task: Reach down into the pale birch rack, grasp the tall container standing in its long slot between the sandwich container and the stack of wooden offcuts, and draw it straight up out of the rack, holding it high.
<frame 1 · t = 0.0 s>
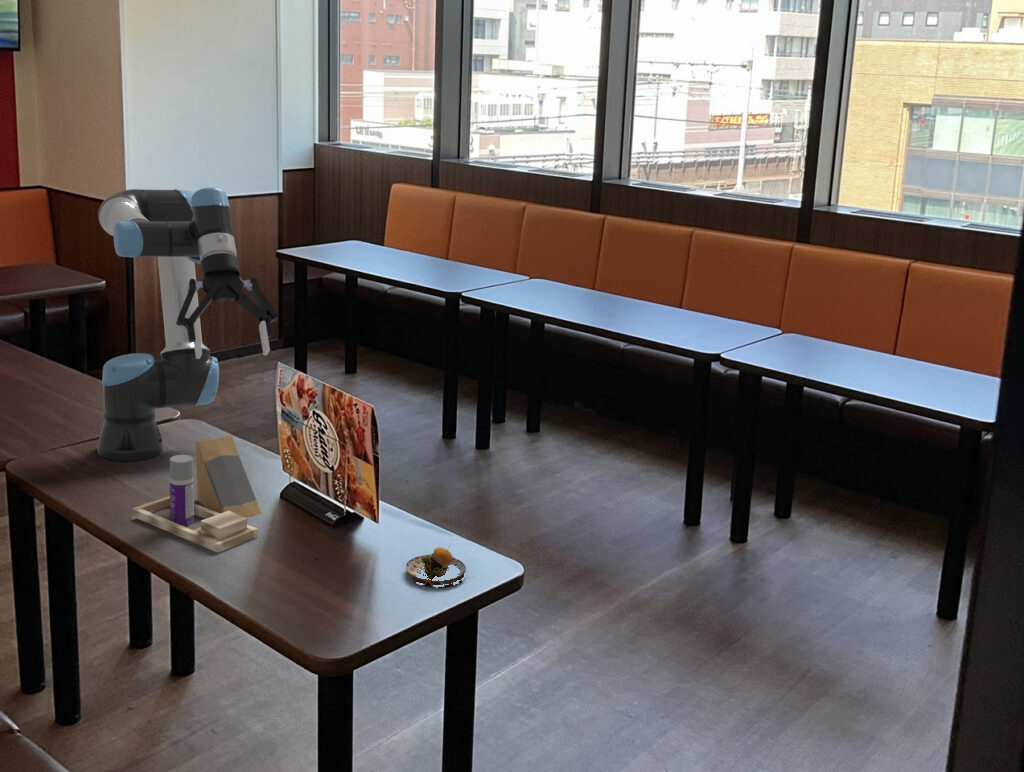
hand: (233, 354, 218), 36 cm above the table, tool tilted 35°, fingers open, 13 cm apart
offcut top: (224, 528, 215), point 3 cm above the table, touching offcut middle
sandwich container: (230, 515, 231), on the table
container: (182, 527, 222), on the table
rack: (182, 526, 222), on the table
plate of food: (435, 576, 210), on the table
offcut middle: (223, 537, 216), point 1 cm above the table, touching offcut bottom, offcut top
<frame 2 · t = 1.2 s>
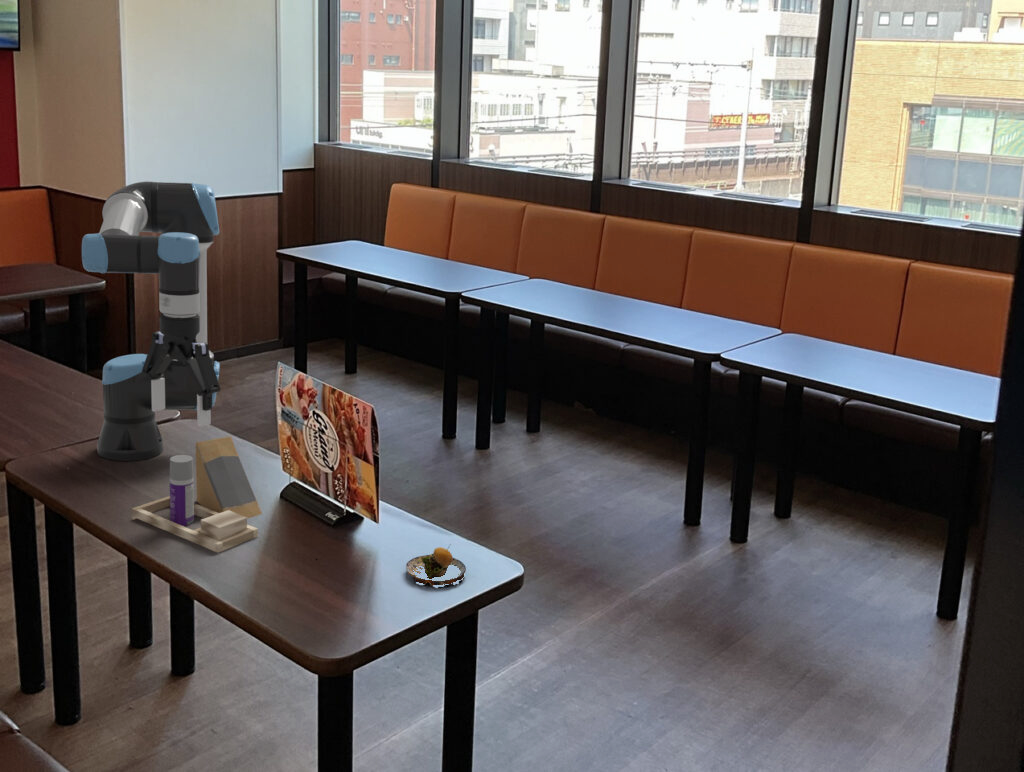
hand: (180, 417, 216), 24 cm above the table, tool pointing down, fingers open, 13 cm apart
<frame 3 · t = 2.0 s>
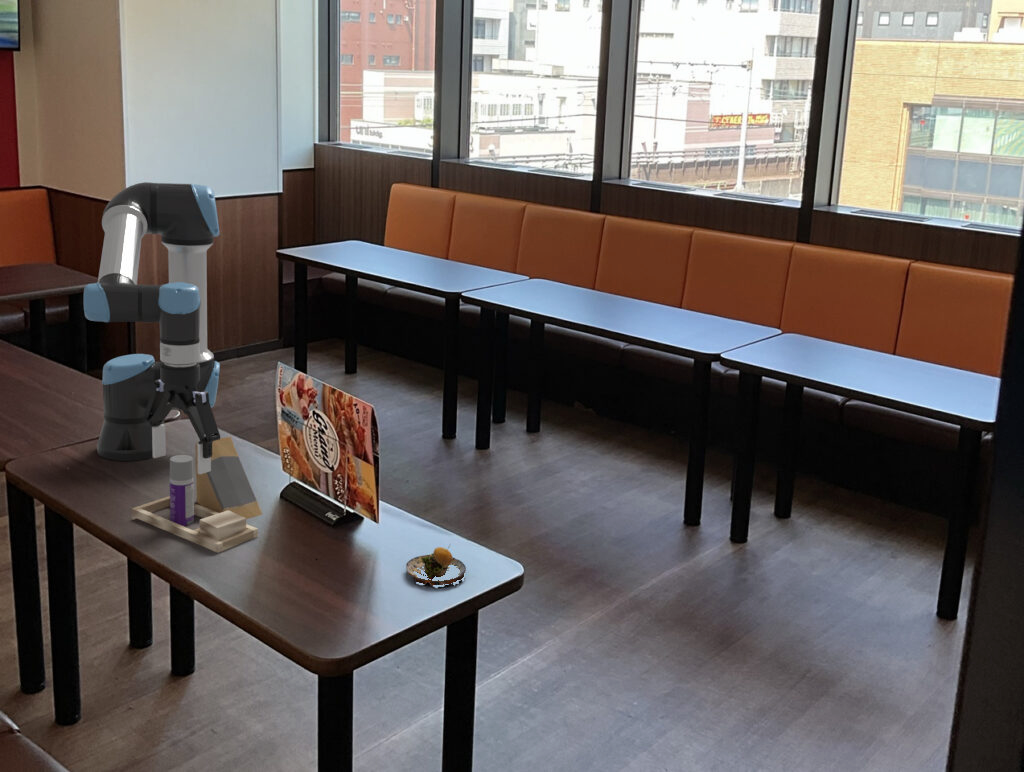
hand: (181, 464, 218), 14 cm above the table, tool pointing down, fingers open, 13 cm apart
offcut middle: (222, 537, 215), point 2 cm above the table, touching offcut top
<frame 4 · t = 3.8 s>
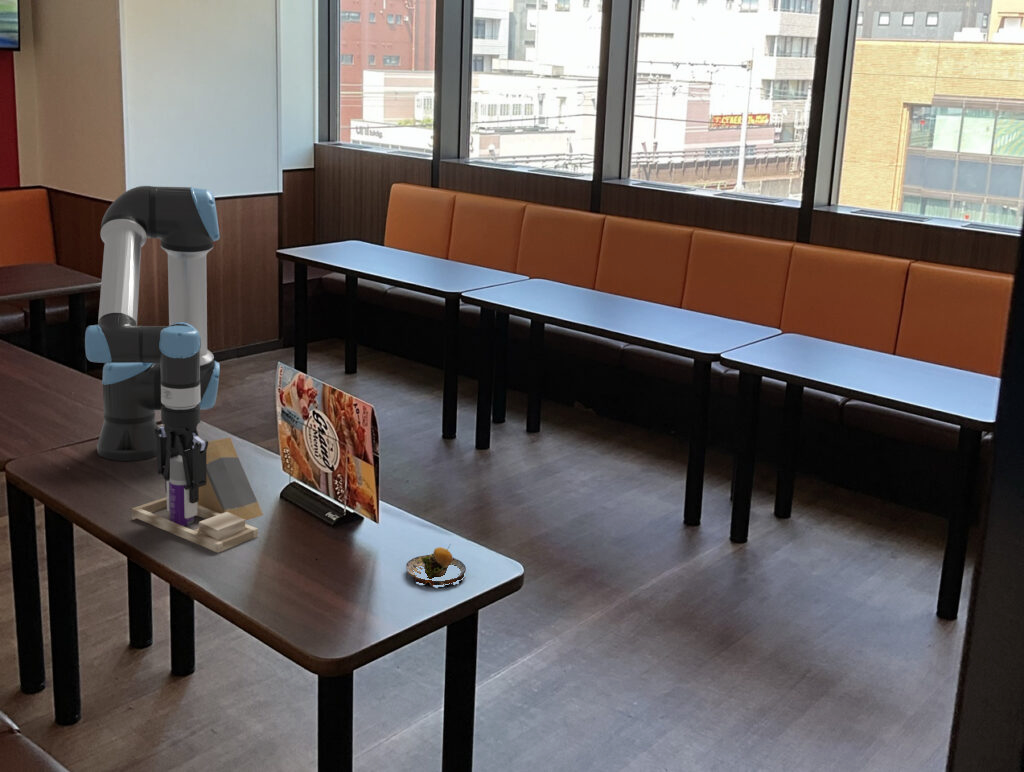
hand: (182, 512, 221), 3 cm above the table, tool pointing down, fingers closed on container, 5 cm apart
container: (182, 527, 222), on the table, touching gripper
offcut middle: (222, 539, 215), point 1 cm above the table, touching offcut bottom, offcut top
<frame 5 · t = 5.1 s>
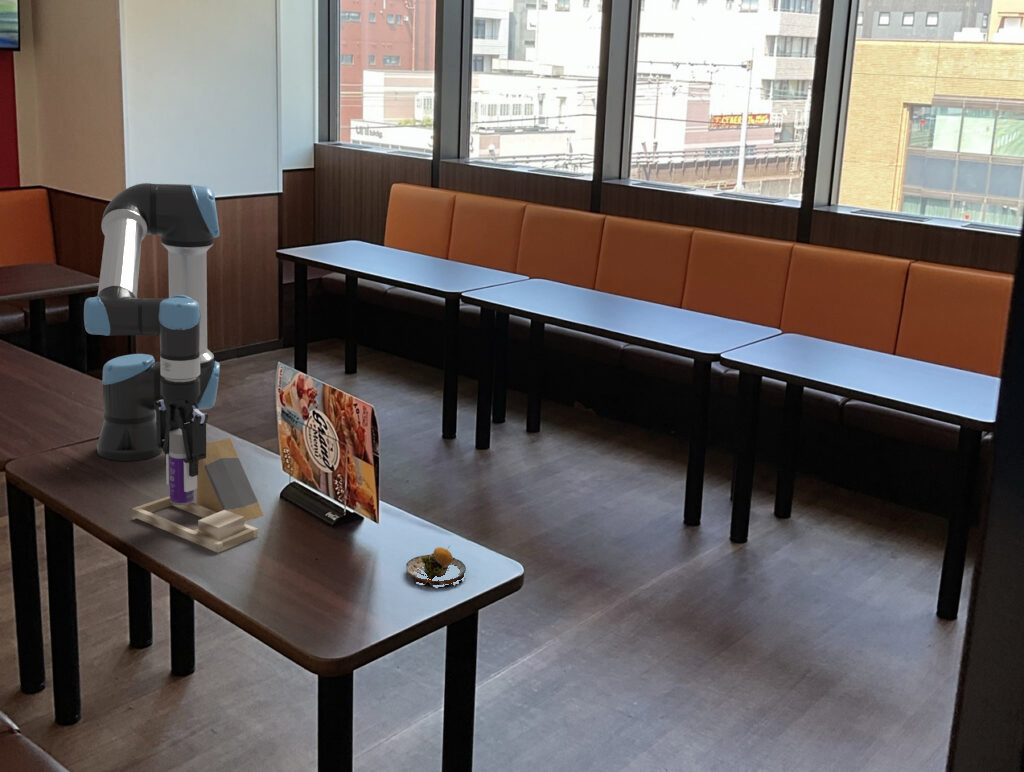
hand: (181, 486, 220), 9 cm above the table, tool pointing down, fingers closed on container, 5 cm apart
container: (182, 501, 221), point 5 cm above the table, touching gripper
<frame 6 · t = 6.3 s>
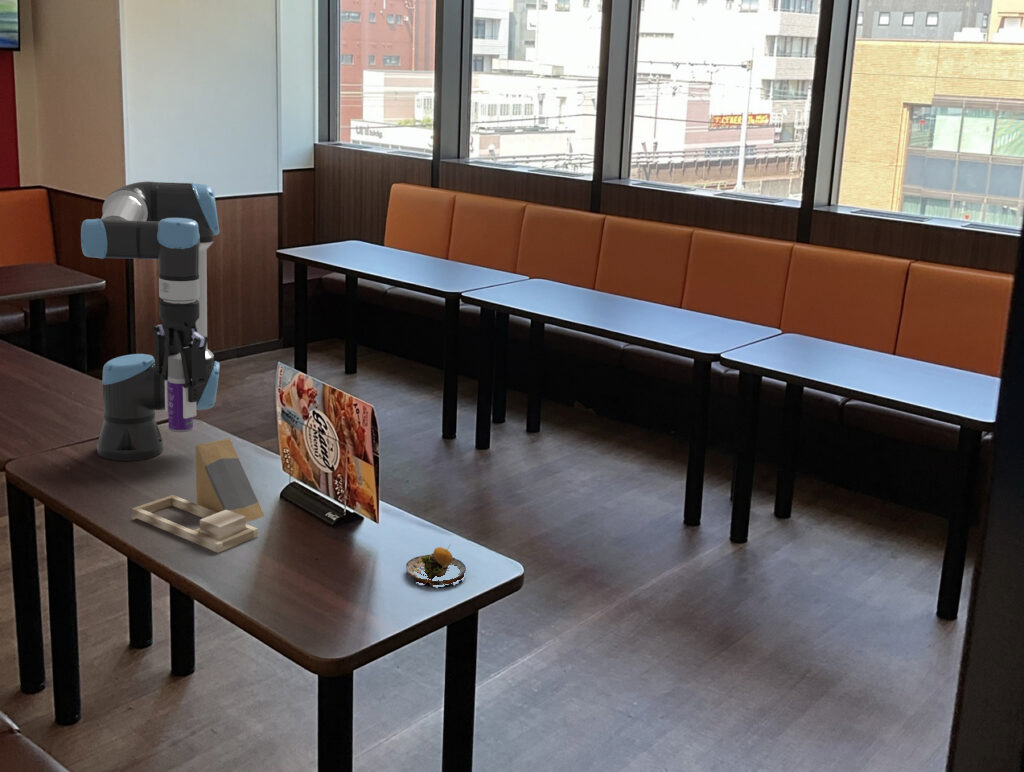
hand: (180, 413, 215), 25 cm above the table, tool pointing down, fingers closed on container, 5 cm apart
container: (180, 429, 216), point 21 cm above the table, touching gripper
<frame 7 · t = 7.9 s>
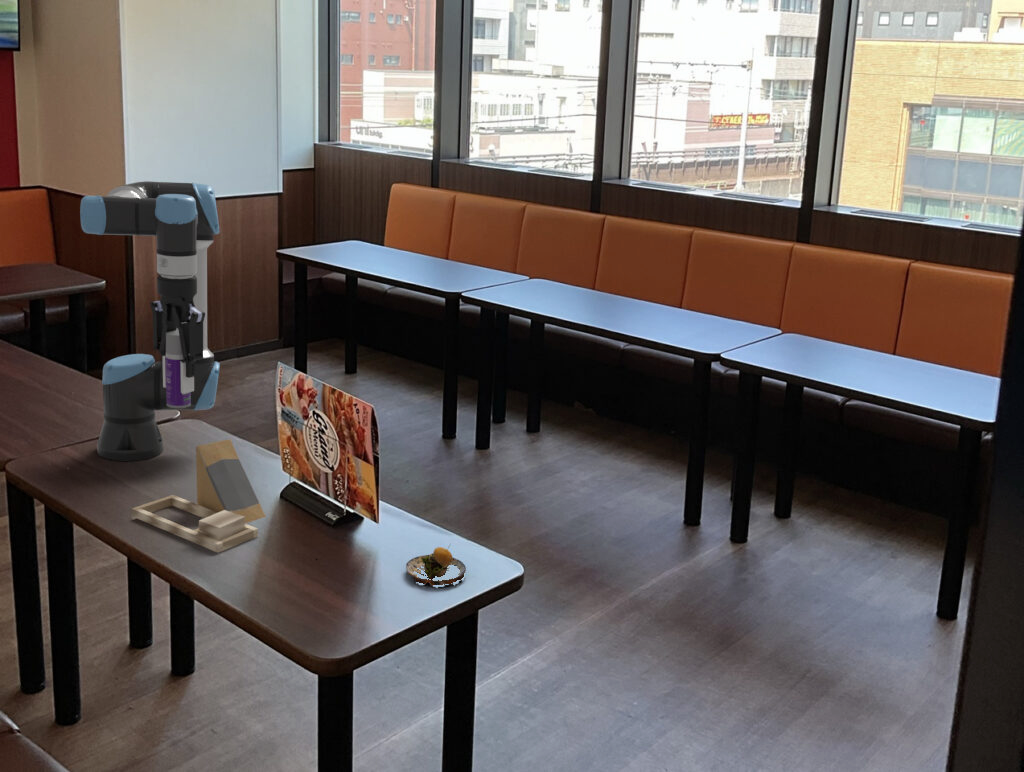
hand: (178, 388, 217), 29 cm above the table, tool pointing down, fingers closed on container, 5 cm apart
container: (178, 405, 218), point 25 cm above the table, touching gripper
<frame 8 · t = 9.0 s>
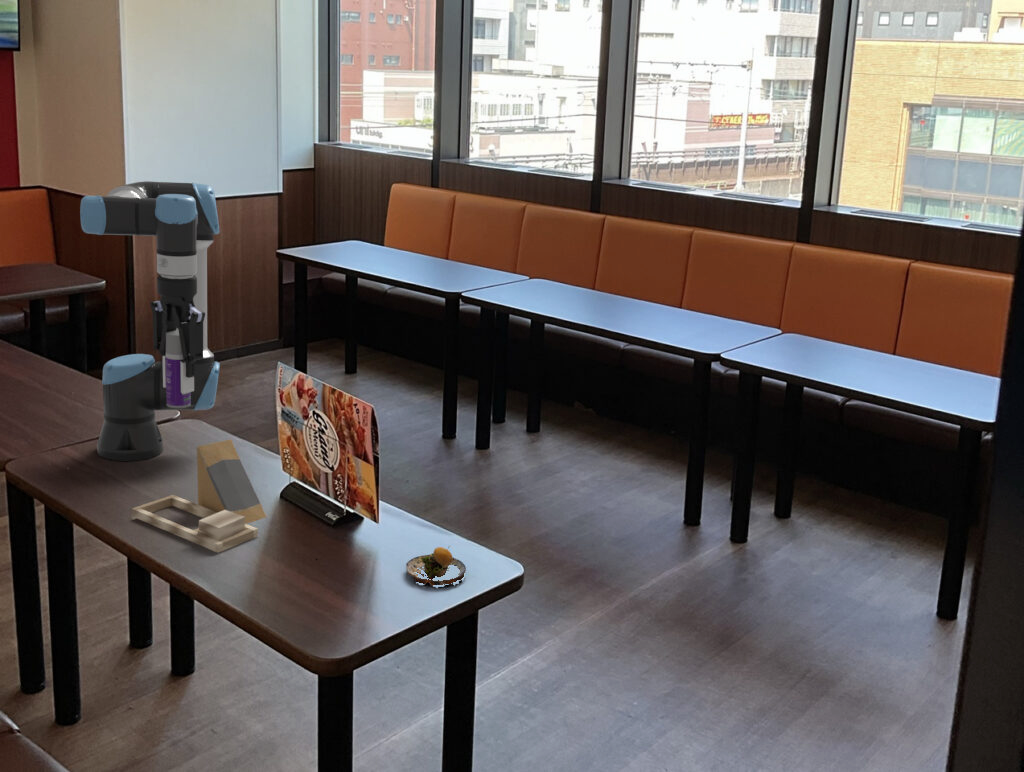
hand: (178, 388, 217), 29 cm above the table, tool pointing down, fingers closed on container, 5 cm apart
container: (178, 405, 218), point 25 cm above the table, touching gripper
at the end: the gripper is holding container; container point 25.0 cm above the table; container tilted 0° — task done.
